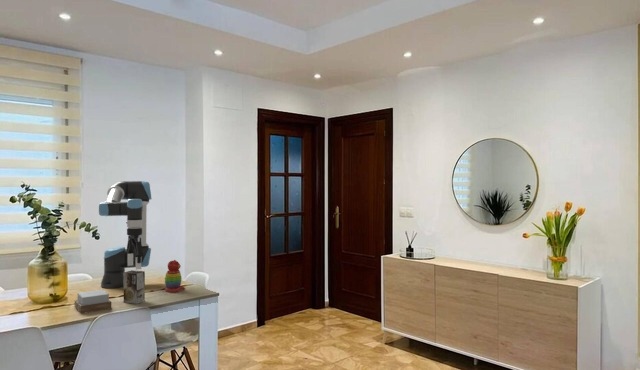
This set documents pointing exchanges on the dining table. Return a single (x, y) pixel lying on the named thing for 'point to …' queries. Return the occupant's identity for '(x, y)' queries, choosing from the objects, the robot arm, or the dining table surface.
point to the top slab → (93, 297)
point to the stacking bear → (173, 278)
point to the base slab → (92, 307)
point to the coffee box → (134, 286)
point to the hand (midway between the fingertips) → (134, 267)
